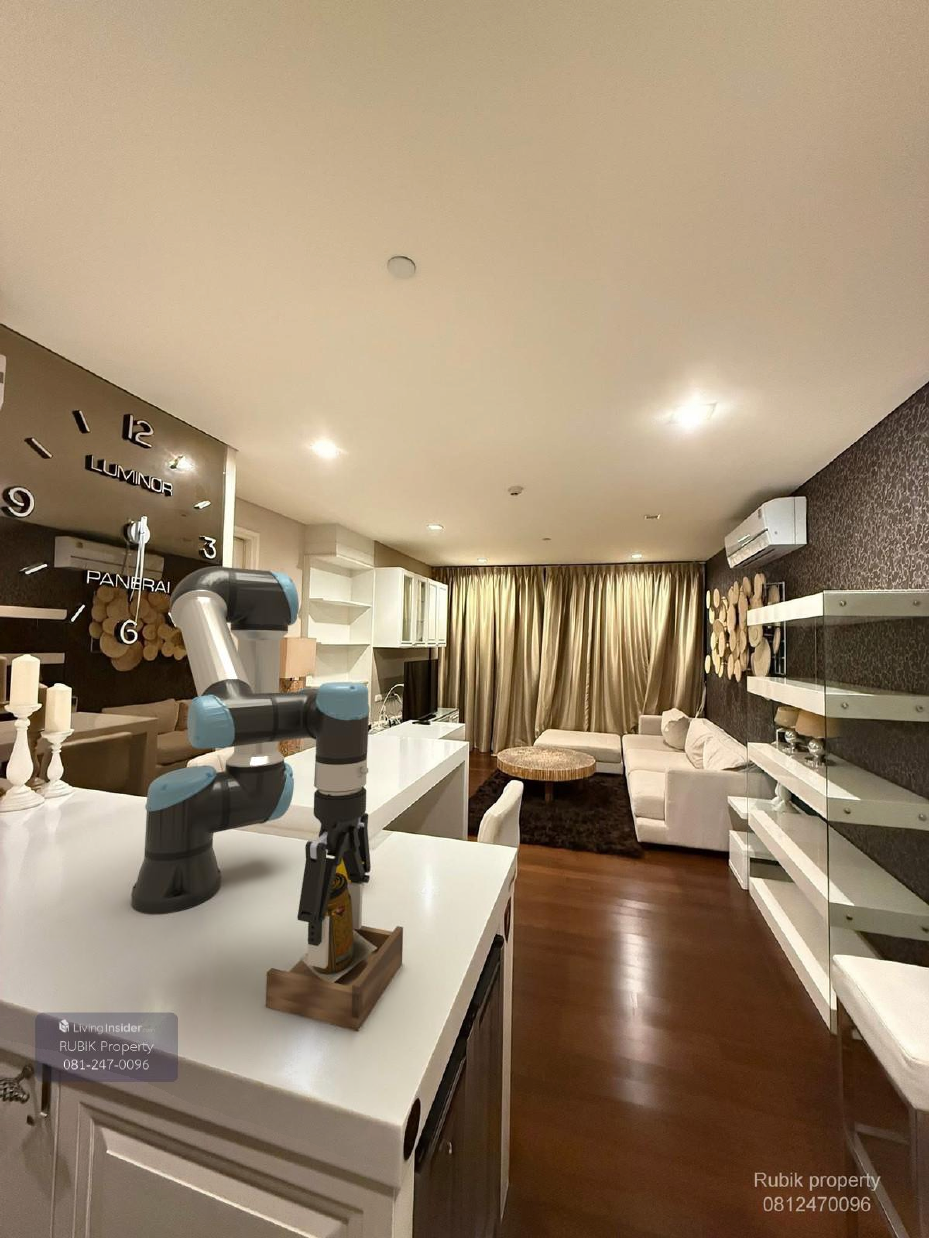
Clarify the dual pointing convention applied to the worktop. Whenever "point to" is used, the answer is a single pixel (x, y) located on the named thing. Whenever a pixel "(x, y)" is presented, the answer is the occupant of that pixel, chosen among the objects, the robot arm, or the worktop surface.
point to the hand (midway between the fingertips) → (336, 944)
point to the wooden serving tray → (339, 984)
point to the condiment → (341, 935)
